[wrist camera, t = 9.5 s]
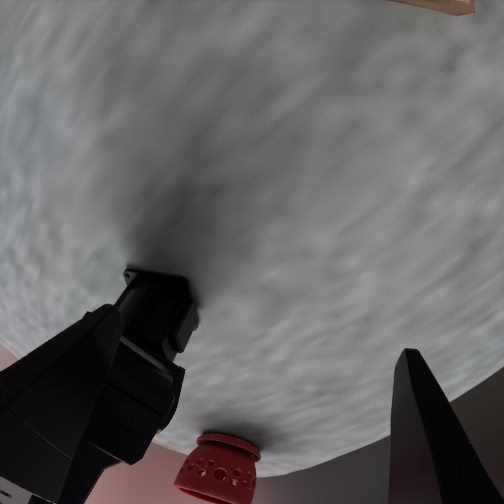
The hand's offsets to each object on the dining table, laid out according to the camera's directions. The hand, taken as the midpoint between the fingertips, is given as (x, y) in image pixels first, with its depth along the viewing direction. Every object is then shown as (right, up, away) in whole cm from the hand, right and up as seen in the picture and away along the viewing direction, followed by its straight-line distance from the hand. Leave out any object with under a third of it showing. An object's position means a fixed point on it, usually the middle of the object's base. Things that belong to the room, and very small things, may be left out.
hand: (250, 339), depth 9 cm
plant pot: (-4, -31, +41) cm, 52 cm away
